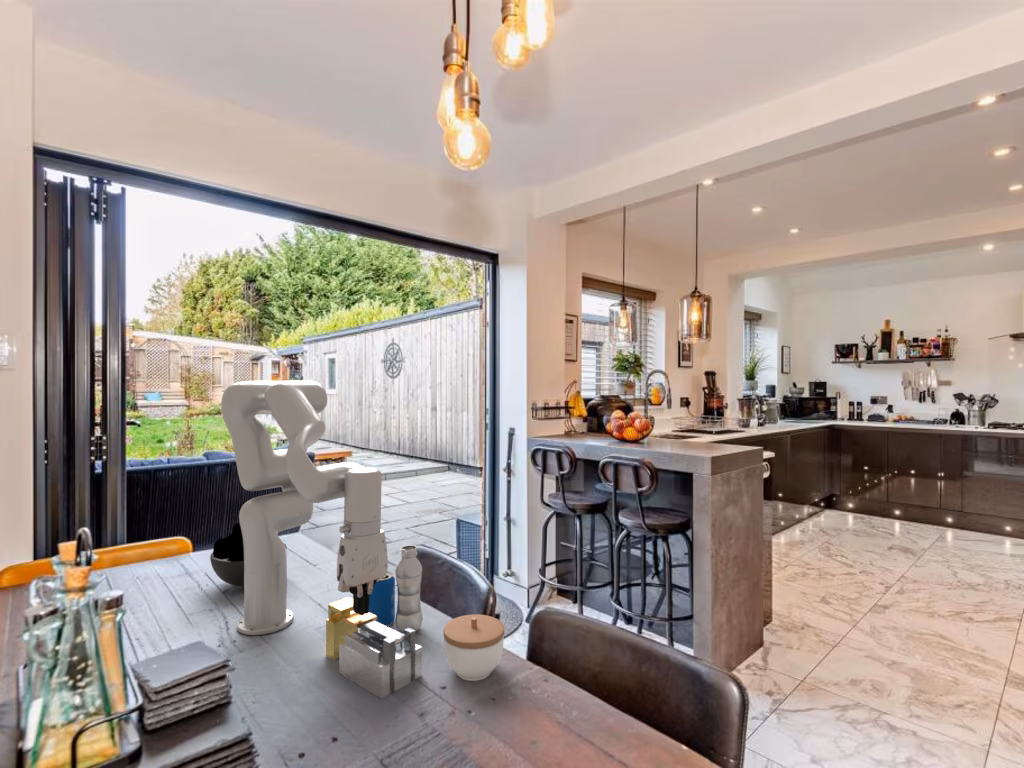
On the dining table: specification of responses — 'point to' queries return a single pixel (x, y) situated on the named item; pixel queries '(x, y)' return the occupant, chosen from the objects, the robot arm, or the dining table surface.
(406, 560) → the plastic bottle
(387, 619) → the beverage can
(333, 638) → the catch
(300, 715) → the dining table surface
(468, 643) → the lidded bowl
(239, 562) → the bowl of black rocks
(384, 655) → the heatsink
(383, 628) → the strap
